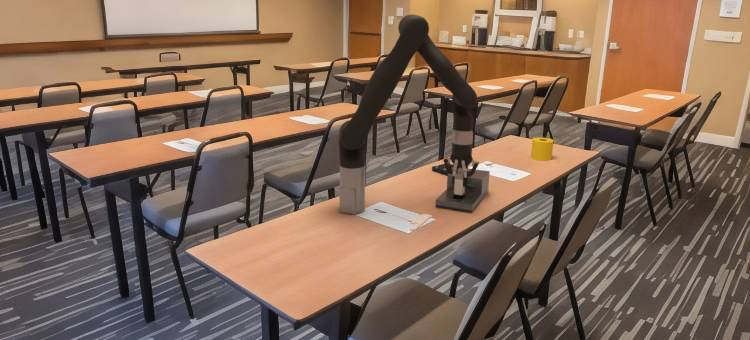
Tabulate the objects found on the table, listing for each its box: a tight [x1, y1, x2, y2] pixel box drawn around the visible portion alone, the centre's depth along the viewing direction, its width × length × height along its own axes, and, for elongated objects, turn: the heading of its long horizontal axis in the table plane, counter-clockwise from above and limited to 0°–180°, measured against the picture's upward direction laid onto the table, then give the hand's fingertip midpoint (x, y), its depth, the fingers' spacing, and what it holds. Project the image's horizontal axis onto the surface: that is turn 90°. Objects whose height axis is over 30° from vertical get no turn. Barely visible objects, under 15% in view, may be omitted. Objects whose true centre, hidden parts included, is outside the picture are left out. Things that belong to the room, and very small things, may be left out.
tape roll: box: [530, 137, 554, 162], centre depth 273 cm, size 10×10×9 cm
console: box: [435, 167, 491, 214], centre depth 214 cm, size 26×14×9 cm, turn 156°
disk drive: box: [431, 163, 454, 177], centre depth 249 cm, size 10×3×15 cm
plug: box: [454, 171, 465, 195], centre depth 207 cm, size 4×3×8 cm
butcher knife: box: [410, 213, 432, 232], centre depth 192 cm, size 5×15×1 cm, turn 151°
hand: (459, 185), depth 207 cm, fingers closed on plug, 3 cm apart
